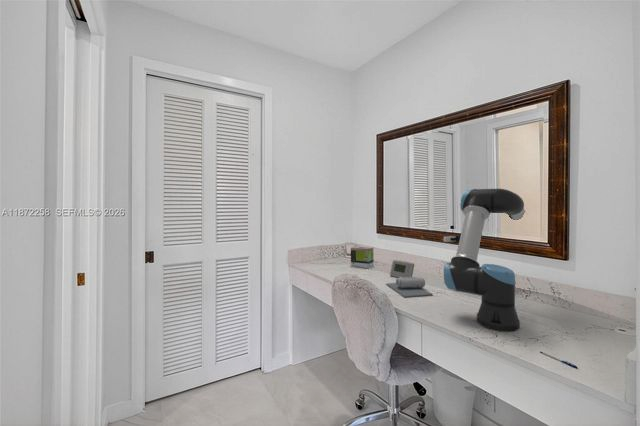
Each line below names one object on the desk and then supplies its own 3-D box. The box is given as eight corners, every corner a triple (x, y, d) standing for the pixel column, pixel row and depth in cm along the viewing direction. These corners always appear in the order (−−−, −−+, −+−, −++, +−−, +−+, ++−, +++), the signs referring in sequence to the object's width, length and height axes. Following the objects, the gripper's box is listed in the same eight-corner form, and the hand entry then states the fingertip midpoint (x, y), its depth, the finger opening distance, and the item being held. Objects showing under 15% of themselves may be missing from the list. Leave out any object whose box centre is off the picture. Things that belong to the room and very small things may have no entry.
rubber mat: (432, 295, 158) (432, 294, 158) (404, 297, 155) (404, 296, 155) (411, 283, 182) (411, 281, 182) (386, 284, 179) (386, 283, 179)
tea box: (373, 266, 230) (373, 247, 229) (368, 268, 221) (368, 248, 221) (356, 264, 238) (355, 245, 237) (350, 266, 229) (350, 247, 229)
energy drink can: (422, 288, 172) (396, 288, 171) (420, 277, 174) (395, 278, 173) (426, 287, 166) (399, 288, 165) (424, 276, 168) (398, 276, 167)
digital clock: (388, 276, 200) (388, 260, 199) (398, 274, 204) (398, 258, 204) (406, 281, 186) (406, 264, 185) (416, 279, 190) (417, 263, 190)
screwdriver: (578, 369, 90) (578, 365, 89) (576, 369, 89) (576, 366, 89) (540, 352, 99) (540, 349, 99) (539, 353, 99) (539, 350, 99)
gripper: (489, 245, 169) (451, 247, 165) (473, 242, 182) (438, 244, 178) (489, 232, 169) (451, 233, 165) (473, 230, 182) (438, 231, 178)
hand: (444, 239), depth 171 cm, fingers closed
